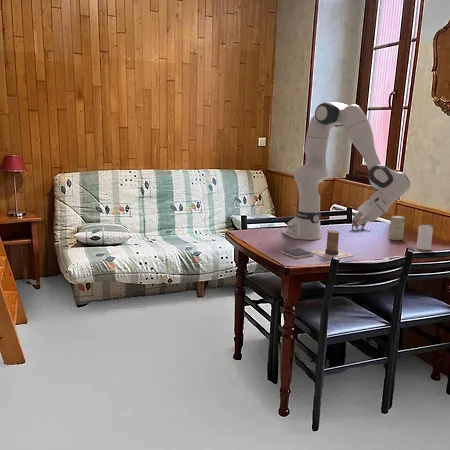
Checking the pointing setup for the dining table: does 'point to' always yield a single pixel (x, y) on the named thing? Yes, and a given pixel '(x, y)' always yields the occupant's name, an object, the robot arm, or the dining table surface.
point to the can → (424, 237)
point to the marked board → (323, 254)
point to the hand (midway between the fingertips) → (355, 222)
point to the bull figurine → (357, 225)
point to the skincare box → (396, 228)
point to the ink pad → (297, 253)
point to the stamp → (332, 242)
